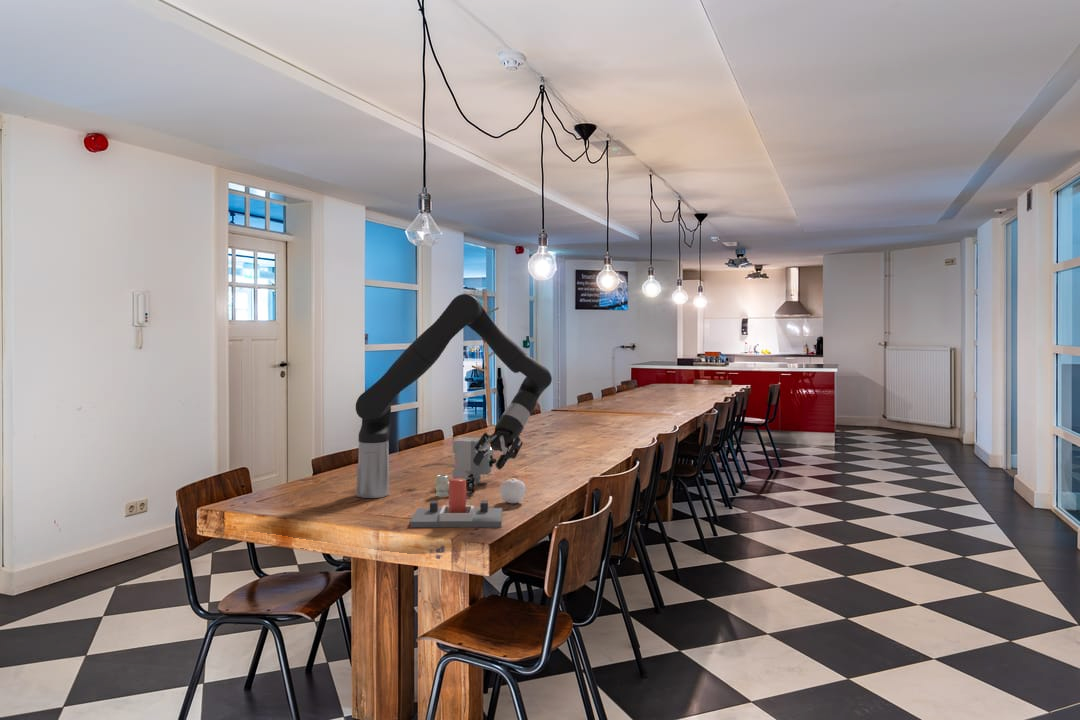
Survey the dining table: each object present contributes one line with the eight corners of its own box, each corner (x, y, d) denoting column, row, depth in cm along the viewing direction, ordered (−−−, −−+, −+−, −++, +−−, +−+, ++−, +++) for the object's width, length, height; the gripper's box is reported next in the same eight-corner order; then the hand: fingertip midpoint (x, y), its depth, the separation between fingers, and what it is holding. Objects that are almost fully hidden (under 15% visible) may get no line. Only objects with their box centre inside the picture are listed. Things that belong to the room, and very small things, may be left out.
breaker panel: (409, 527, 175) (410, 512, 174) (417, 513, 189) (417, 499, 188) (501, 527, 176) (501, 512, 175) (502, 513, 190) (502, 499, 189)
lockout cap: (448, 519, 177) (448, 481, 177) (449, 514, 182) (449, 478, 182) (465, 519, 177) (465, 481, 177) (466, 514, 182) (466, 478, 182)
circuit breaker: (492, 485, 225) (493, 441, 225) (452, 484, 227) (452, 440, 227) (497, 481, 233) (498, 438, 232) (458, 479, 235) (458, 437, 234)
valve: (437, 499, 206) (475, 496, 210) (437, 478, 206) (475, 475, 210) (433, 494, 212) (470, 492, 216) (433, 474, 212) (470, 471, 216)
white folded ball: (524, 499, 206) (524, 475, 206) (527, 505, 198) (527, 480, 198) (498, 500, 205) (498, 475, 205) (500, 506, 197) (500, 480, 197)
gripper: (489, 412, 199) (461, 455, 191) (525, 415, 191) (499, 460, 182) (500, 427, 204) (474, 470, 195) (537, 432, 195) (511, 477, 186)
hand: (486, 465), depth 188 cm, fingers open, 8 cm apart
